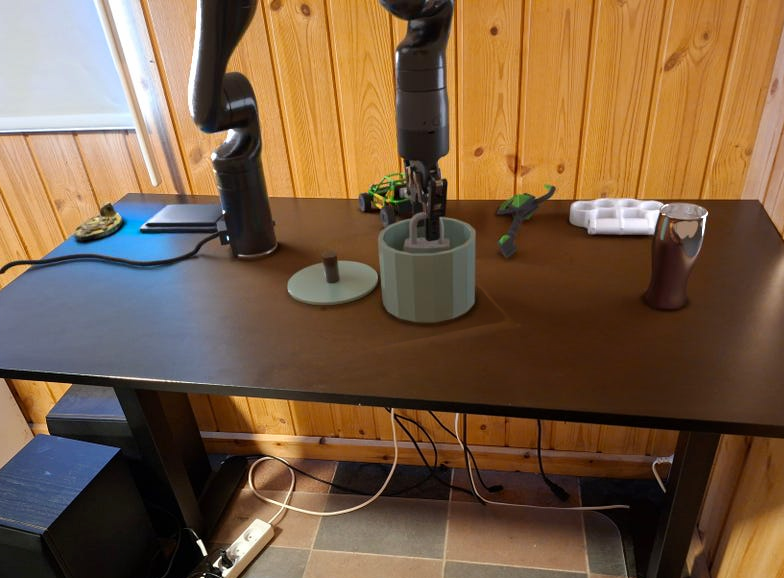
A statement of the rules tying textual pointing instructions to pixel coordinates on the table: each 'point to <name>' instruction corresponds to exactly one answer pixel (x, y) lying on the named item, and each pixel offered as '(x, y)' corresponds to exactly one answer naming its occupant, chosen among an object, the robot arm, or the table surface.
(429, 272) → the pot
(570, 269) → the table surface
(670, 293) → the beer glass
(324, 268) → the pot lid
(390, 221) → the motor vehicle
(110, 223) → the olive oval piece
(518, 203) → the war hammer
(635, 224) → the white flat holed piece
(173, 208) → the dark grey flat block
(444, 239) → the padlock
